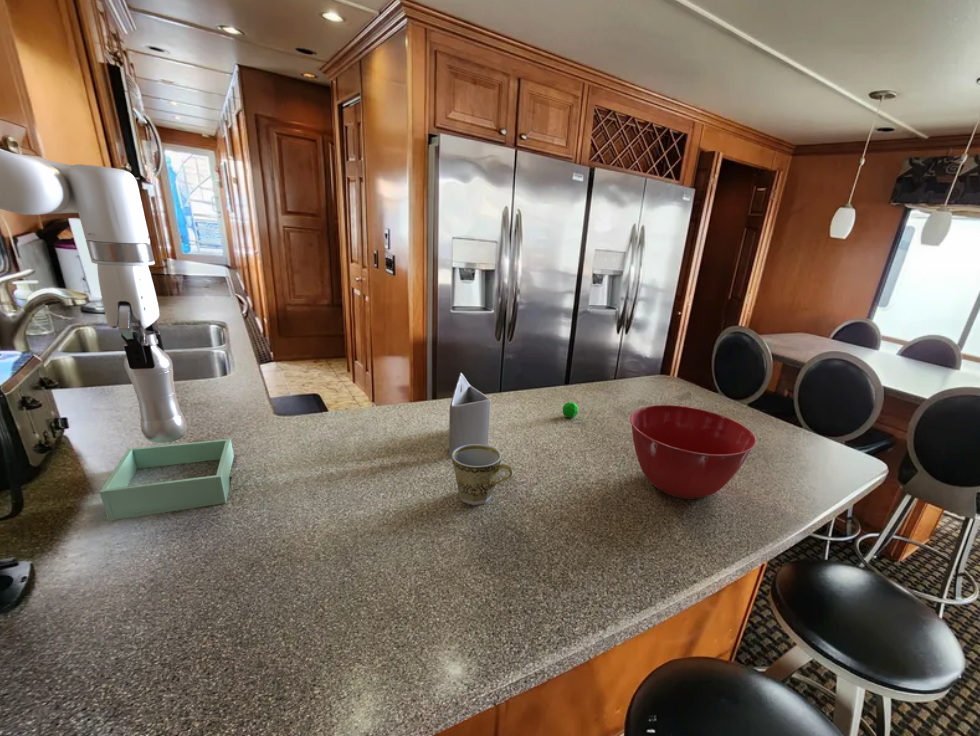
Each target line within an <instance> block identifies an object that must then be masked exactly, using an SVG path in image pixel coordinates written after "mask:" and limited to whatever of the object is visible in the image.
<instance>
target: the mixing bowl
mask: <svg viewBox="0 0 980 736" xmlns="http://www.w3.org/2000/svg"><path fill="white" fill-rule="evenodd" d="M629 422H630V424H631V433H632V441H633V446H634V451H635V455H636V457H637V461H638V464H639V465H640V469H641V471H642V474H643V475H644V476H645V478H646V479H647V481H648V482H650V483H651V484H652V485H653V486H654V487H655V488H657V489H658V490H659V491H661V492H664V493H665V494H667V495H669V496H672V497H676V498H680V499H687V500H693V499H700V498H705V497H708V496H711V495H713V494H715V493H717V492H718V491H720V490H722V489H723V488H724V487H725V486H726V485H727V484H728V483H729V482H730V481H731V480H732V479H733V477H734V476H735V475H736V474H737V473H738V472H739V470H740V469H741V467H742V466H743V464H744V463H745V462H746V460H747V458H748V457H749V455H750V454H751V452H752V450H753V449H754V448H755V447H756V446H757V438H756V435H755V434H754V433H753V431H752V430H750V429H749V428H748V427H746V425H743V424H742V423H740V422H738V421H736V420H734V419H732V418H729V417H727V416H724V415H721V414H719V413H715V412H712V411H708V410H705V409H701V408H696V407H691V406H684V405H674V404H658V405H657V404H656V405H649V406H644V407H640V408H638V409H636V410H635V411H633V412H632V414H631V415H630V418H629Z"/></svg>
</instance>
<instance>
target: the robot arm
mask: <svg viewBox="0 0 980 736" xmlns="http://www.w3.org/2000/svg"><path fill="white" fill-rule="evenodd" d="M141 198H142V197H141V194H140V189H139V185H138V181H137V179H136V178H135V176H134V175H133V174H132V173H131V172H130V171H127V170H125V169H122V168H115V167H109V166H102V165H92V164H84V163H83V164H81V163H80V164H68V163H62V162H59V161H54V160H50V159H46V158H41V157H36V156H32V155H25V154H19V153H14V152H11V151H8V150H5V149H2V148H0V210H3V211H6V212H9V213H13V214H19V215H25V216H39V215H55V214H78V216H79V220H80V221H79V222H80V225H81V228H82V232H83V235H84V239H85V243H86V247H87V250H88V251H87V252H88V254H89V258H90V262H91V263H93V264H95V265H96V266H97V268H96V269H97V277H98V279H97V280H98V286H99V291H100V296H101V302H102V306H103V309H104V315H105V319H106V324H107V326H108V327H109V328H111V329H117V328H118V331H119V333H120V337H121V338H122V345H123V348H124V352H125V357H126V356H127V360H128V364H129V367H130V368H131V369H152V368H154V367H155V363H154V359H153V354H152V350H151V346H150V344H149V345H147V337H146V331H153V332H155V334H156V338H157V340H158V344H157V346H158V347H159V348H160V349H161V350H163V351H164V352H165V348H164V343H163V339H162V335H161V334H160V327H159V325H158V322H157V321H158V319H159V318H160V308H159V307H160V306H159V302H158V297H157V293H156V289H155V286H154V282H153V278H152V273H151V271H150V267H149V266H153V265H155V264H156V262H155V258H154V253H153V248H152V243H151V239H150V234H149V230H148V225H147V222H146V217H145V212H144V207H143V203H142V199H141ZM133 324H134V325H133ZM134 331H140V336H139V334H138V333H137V332H134Z"/></svg>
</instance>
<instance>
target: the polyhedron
mask: <svg viewBox="0 0 980 736" xmlns="http://www.w3.org/2000/svg"><path fill="white" fill-rule="evenodd" d="M578 413H579V406H578V405H577V403H576V402H573V401H569V402H566V403H565V404H564V405H563V406H562V414H563V416H564V417H566V418H568V419H572V418H574V417H576V416H577V415H578Z"/></svg>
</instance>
